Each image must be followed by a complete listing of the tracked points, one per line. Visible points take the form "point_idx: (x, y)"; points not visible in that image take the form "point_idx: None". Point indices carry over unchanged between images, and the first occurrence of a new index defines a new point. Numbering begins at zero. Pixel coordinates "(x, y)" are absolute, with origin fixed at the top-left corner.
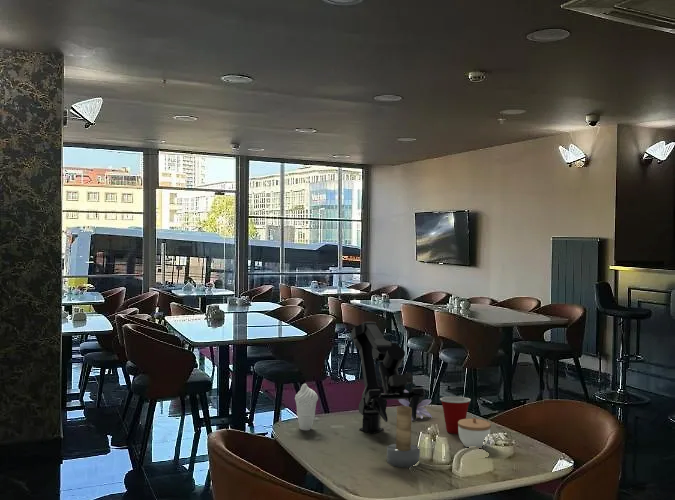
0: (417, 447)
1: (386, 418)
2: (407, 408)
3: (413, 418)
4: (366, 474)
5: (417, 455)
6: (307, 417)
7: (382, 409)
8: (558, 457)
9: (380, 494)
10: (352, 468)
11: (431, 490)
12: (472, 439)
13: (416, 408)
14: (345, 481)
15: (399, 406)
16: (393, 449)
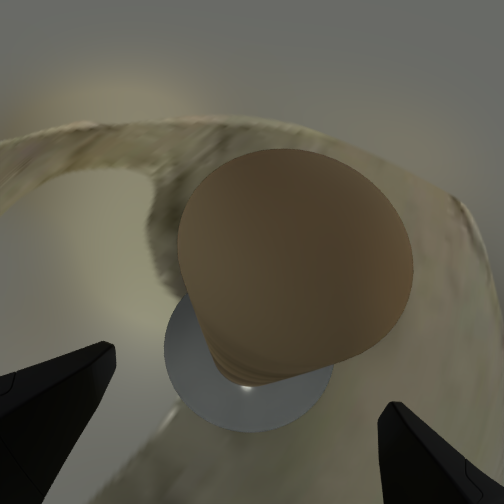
0: (170, 332)
1: (405, 409)
2: (273, 193)
3: (107, 373)
4: (420, 289)
5: None
6: None
7: (464, 465)
8: None
9: (411, 173)
10: (442, 350)
11: (293, 137)
12: None
13: (16, 372)
14: (470, 265)
15: (346, 345)
16: None
